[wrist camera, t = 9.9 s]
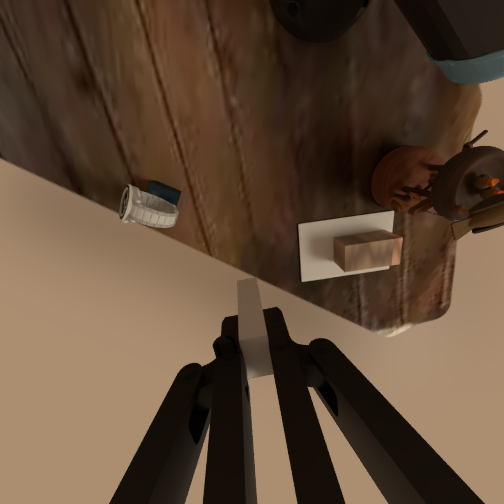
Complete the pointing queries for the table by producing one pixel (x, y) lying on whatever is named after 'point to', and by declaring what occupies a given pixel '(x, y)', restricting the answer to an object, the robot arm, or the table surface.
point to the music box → (444, 185)
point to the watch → (150, 205)
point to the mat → (321, 242)
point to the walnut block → (367, 250)
